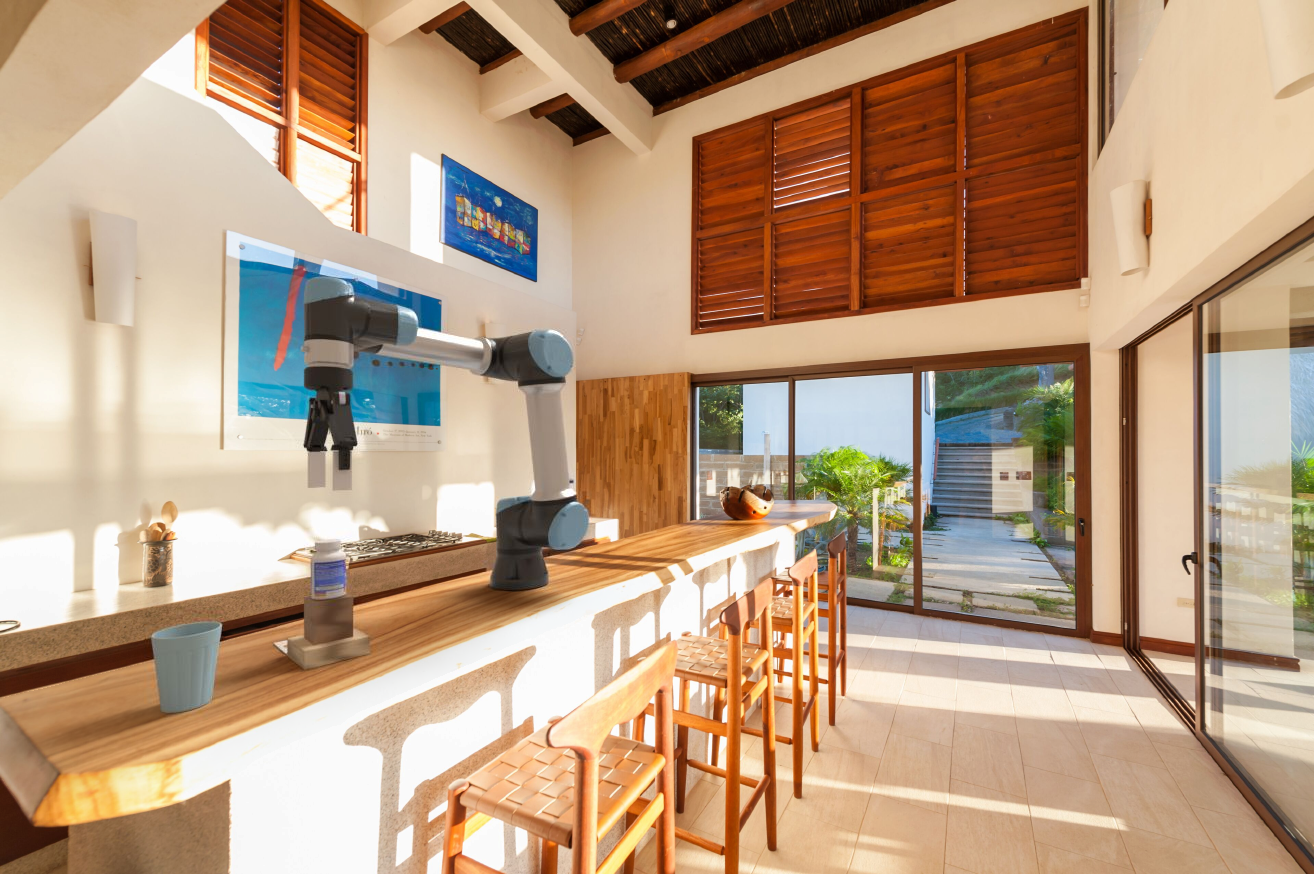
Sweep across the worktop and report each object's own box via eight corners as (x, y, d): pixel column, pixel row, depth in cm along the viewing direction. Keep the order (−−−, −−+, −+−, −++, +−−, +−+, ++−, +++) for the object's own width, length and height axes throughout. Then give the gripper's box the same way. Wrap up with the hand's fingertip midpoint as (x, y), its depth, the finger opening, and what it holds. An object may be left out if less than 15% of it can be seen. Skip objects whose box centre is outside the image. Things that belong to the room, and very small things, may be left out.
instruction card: (333, 631, 113) (333, 629, 113) (347, 639, 107) (347, 638, 107) (273, 644, 105) (273, 642, 105) (285, 654, 100) (285, 652, 100)
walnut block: (341, 629, 104) (341, 590, 104) (353, 636, 100) (353, 596, 100) (304, 637, 100) (304, 596, 100) (314, 645, 95) (314, 602, 96)
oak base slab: (349, 641, 107) (349, 624, 107) (369, 653, 100) (369, 636, 100) (287, 655, 99) (287, 638, 99) (304, 670, 92) (304, 651, 92)
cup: (134, 714, 77) (135, 636, 77) (190, 691, 85) (191, 620, 85) (182, 719, 76) (183, 639, 76) (234, 694, 83) (235, 622, 84)
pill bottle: (352, 594, 101) (352, 539, 101) (321, 602, 96) (321, 543, 96) (335, 591, 103) (335, 537, 104) (303, 598, 99) (304, 541, 99)
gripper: (284, 373, 107) (284, 487, 106) (328, 356, 89) (328, 492, 89) (329, 376, 112) (329, 485, 112) (378, 361, 95) (378, 490, 94)
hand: (328, 488), depth 100 cm, fingers open, 13 cm apart
